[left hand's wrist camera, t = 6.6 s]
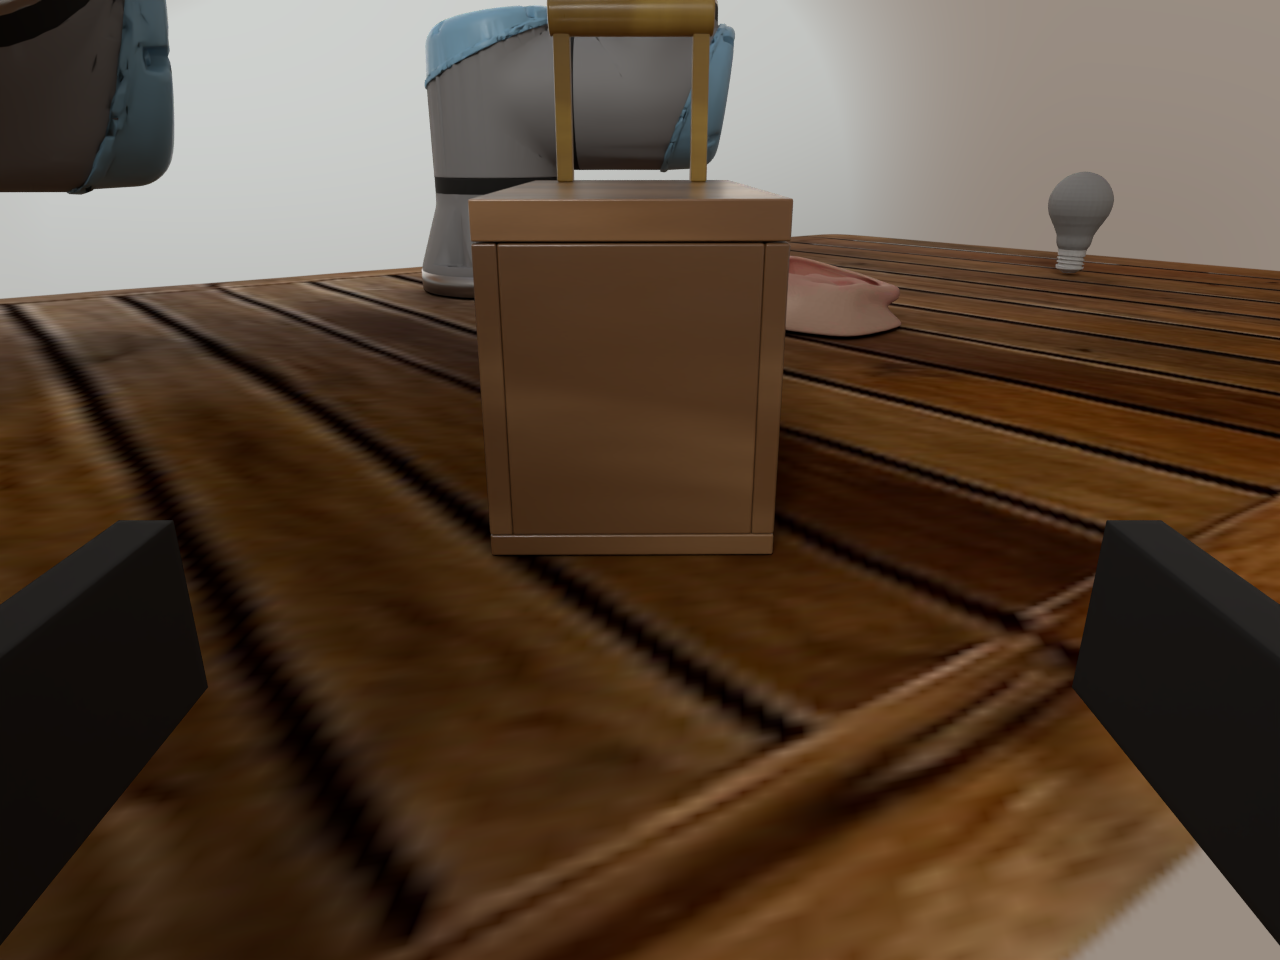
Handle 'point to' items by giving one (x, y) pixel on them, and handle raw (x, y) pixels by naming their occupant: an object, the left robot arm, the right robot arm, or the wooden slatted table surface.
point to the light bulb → (1078, 215)
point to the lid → (630, 207)
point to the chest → (631, 394)
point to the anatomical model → (837, 301)
